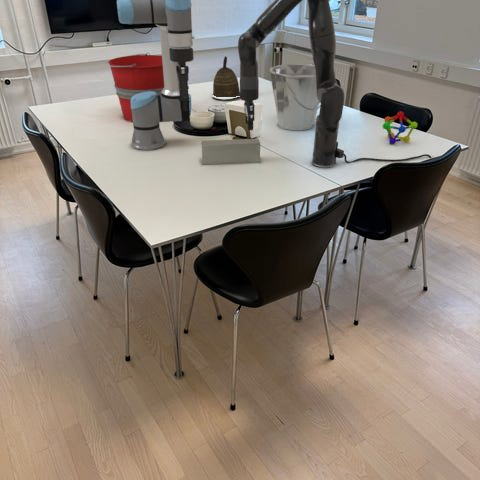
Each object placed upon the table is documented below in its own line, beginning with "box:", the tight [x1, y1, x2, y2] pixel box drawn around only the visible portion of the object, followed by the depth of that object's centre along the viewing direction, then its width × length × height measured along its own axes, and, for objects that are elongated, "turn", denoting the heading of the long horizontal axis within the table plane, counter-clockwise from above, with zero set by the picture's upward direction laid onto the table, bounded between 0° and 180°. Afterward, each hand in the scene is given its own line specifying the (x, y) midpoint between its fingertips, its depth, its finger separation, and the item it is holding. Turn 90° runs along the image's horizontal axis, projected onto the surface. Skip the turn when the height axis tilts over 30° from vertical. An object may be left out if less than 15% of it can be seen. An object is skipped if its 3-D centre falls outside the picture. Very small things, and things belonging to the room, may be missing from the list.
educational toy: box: [382, 110, 418, 145], centre depth 207 cm, size 16×13×15 cm
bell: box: [212, 56, 240, 97], centre depth 278 cm, size 19×26×20 cm
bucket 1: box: [105, 52, 164, 123], centre depth 239 cm, size 35×35×30 cm
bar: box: [201, 138, 261, 165], centre depth 188 cm, size 24×6×9 cm, turn 96°
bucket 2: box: [269, 63, 321, 131], centre depth 226 cm, size 30×30×28 cm
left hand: (185, 114), depth 151 cm, fingers open, 13 cm apart
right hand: (249, 126), depth 184 cm, fingers open, 8 cm apart
